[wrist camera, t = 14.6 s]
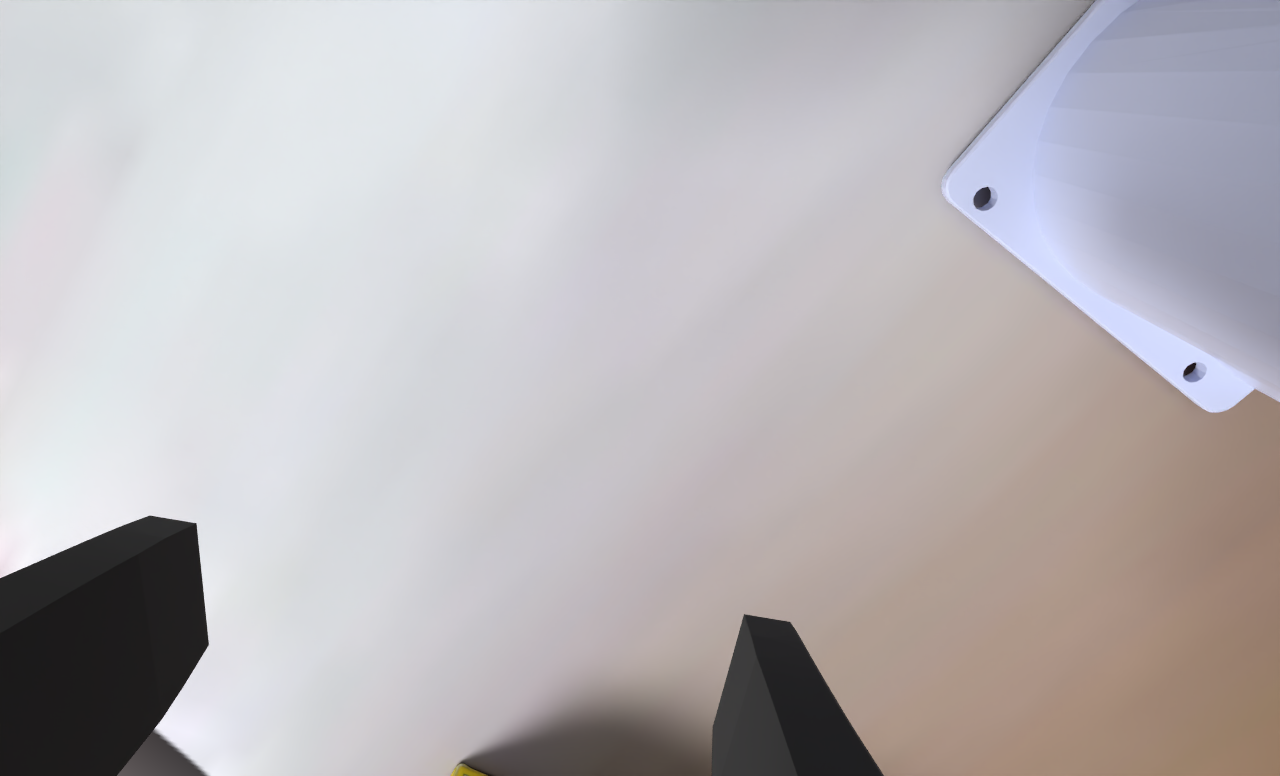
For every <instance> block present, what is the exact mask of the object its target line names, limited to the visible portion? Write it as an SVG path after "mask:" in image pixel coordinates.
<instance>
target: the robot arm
mask: <svg viewBox="0 0 1280 776" xmlns="http://www.w3.org/2000/svg"><path fill="white" fill-rule="evenodd" d="M984 187H988V188H989V189H990V191H991V198H990V200H989V202H988V203H987V204H986V205H984V206H983V207H980V208H976V207H975V206H974V204H973V197H974V196H975V194H976V192H977V191H978V190H980V189H981V188H984ZM941 189H942V193H943V196H944V197H945V198H946V200H947V201H948V202H949V203H950V204H951V205H953V206H954V207H955V208H956V209H958V210H959V211H960V212H961V213H963V214H964V215H965V216H966V217H967V218H969V219H970V220H971V221H972V222H974V223H975V224H976V225H977V226H978V227H980V228H981V229H982V230H983V231H985V232H986V233H987V234H988V235H989V236H991V237H992V238H993V239H994V240H996V241H997V242H998V243H999V244H1000V245H1002V246H1003V247H1004V248H1005V249H1007V250H1008V251H1009V252H1010V253H1011V254H1013V255H1014V256H1015V257H1016V258H1018V259H1019V260H1020V261H1021V262H1023V263H1024V264H1025V265H1026V266H1027V267H1029V268H1030V269H1031V270H1032V271H1034V272H1035V273H1036V274H1037V275H1038V276H1040V277H1041V278H1042V279H1043V280H1045V281H1046V282H1047V283H1048V284H1049V285H1051V286H1052V287H1053V288H1054V289H1056V290H1057V291H1058V292H1059V293H1060V294H1062V295H1063V296H1064V297H1065V298H1067V299H1068V300H1069V301H1070V302H1071V303H1073V304H1074V305H1075V306H1076V307H1078V308H1079V309H1080V310H1081V311H1083V312H1084V313H1085V314H1086V315H1087V316H1089V317H1090V318H1091V319H1092V320H1094V321H1095V322H1096V323H1097V324H1098V325H1100V326H1101V327H1102V328H1103V329H1105V330H1106V331H1107V332H1108V333H1109V334H1111V335H1112V336H1113V337H1114V338H1116V339H1117V340H1118V341H1119V342H1120V343H1122V344H1123V345H1124V346H1125V347H1127V348H1128V349H1129V350H1130V351H1131V352H1133V353H1134V354H1135V355H1136V356H1138V357H1139V358H1140V359H1141V360H1142V361H1144V362H1145V363H1146V364H1147V365H1149V366H1150V367H1151V368H1152V369H1154V370H1155V371H1156V372H1157V373H1158V374H1160V375H1161V376H1162V377H1163V378H1165V379H1166V380H1167V381H1168V382H1169V383H1171V384H1172V385H1173V386H1174V387H1176V388H1177V389H1178V390H1179V391H1180V392H1182V393H1183V394H1184V395H1185V396H1187V397H1188V398H1189V399H1190V400H1191V401H1193V402H1194V403H1195V404H1197V405H1198V406H1200V407H1201V408H1203V409H1204V410H1207V411H1209V412H1217V413H1218V412H1222V411H1226V410H1228V409H1230V408H1231V407H1233V406H1235V405H1236V404H1237V403H1238V402H1239V401H1241V400H1242V399H1243V398H1244V397H1245V396H1247V395H1248V394H1249V393H1250V392H1252V391H1253V390H1254V389H1257V390H1259V391H1260V392H1262V393H1264V394H1266V395H1267V396H1269V397H1271V398H1273V399H1275V400H1276V401H1278V402H1280V0H1096V1H1095V2H1094V3H1093V4H1092V5H1091V7H1090V8H1089V9H1088V10H1087V11H1086V12H1085V13H1084V15H1083V16H1082V17H1081V18H1080V19H1079V20H1078V22H1077V23H1076V24H1075V25H1074V26H1073V27H1072V28H1071V30H1070V31H1069V32H1068V33H1067V34H1066V35H1065V36H1064V38H1063V39H1062V40H1061V41H1060V42H1059V43H1058V44H1057V46H1056V47H1055V48H1054V49H1053V50H1052V51H1051V52H1050V54H1049V55H1048V56H1047V57H1046V58H1045V59H1044V60H1043V62H1042V63H1041V64H1040V65H1039V66H1038V67H1037V68H1036V70H1035V71H1034V72H1033V73H1032V74H1031V75H1030V77H1029V78H1028V79H1027V80H1026V81H1025V82H1024V83H1023V85H1022V86H1021V87H1020V88H1019V89H1018V90H1017V91H1016V93H1015V94H1014V95H1013V96H1012V97H1011V98H1010V99H1009V101H1008V102H1007V103H1006V104H1005V105H1004V106H1003V107H1002V109H1001V110H1000V111H999V112H998V113H997V114H996V115H995V117H994V118H993V119H992V120H991V121H990V122H989V123H988V125H987V126H986V127H985V128H984V129H983V130H982V132H981V133H980V134H979V135H978V136H977V137H976V138H975V140H974V141H973V142H972V143H971V144H970V145H969V146H968V148H967V149H966V150H965V151H964V152H963V153H962V154H961V156H960V157H959V158H958V159H957V160H956V161H955V162H954V164H953V165H952V166H951V167H950V168H949V169H948V171H947V172H946V174H945V176H944V177H943V180H942V185H941ZM1192 363H1196V368H1195V369H1194V370H1193V372H1192V373H1190V374H1188V375H1186V376H1183V371H1184V370H1185V369H1186V367H1187V366H1188V365H1190V364H1192ZM208 645H209V642H208V632H207V623H206V613H205V603H204V593H203V584H202V574H201V564H200V554H199V545H198V535H197V525H196V523H191V522H185V521H179V520H173V519H167V518H161V517H155V516H148V517H145V518H142V519H139V520H137V521H134V522H131V523H129V524H126V525H124V526H121V527H118V528H116V529H114V530H111V531H109V532H106V533H104V534H102V535H99V536H97V537H94V538H92V539H90V540H87V541H85V542H83V543H80V544H78V545H76V546H73V547H71V548H69V549H67V550H64V551H62V552H60V553H57V554H55V555H53V556H50V557H48V558H46V559H44V560H41V561H39V562H37V563H34V564H32V565H30V566H28V567H25V568H23V569H21V570H18V571H16V572H14V573H11V574H9V575H7V576H4V577H2V578H0V776H117V775H118V773H119V772H120V771H121V770H122V769H123V767H124V766H125V765H126V764H127V762H128V761H129V760H130V759H131V757H132V756H133V755H134V754H135V752H136V751H137V750H138V749H139V747H140V746H141V745H142V744H143V742H144V741H145V740H146V739H147V737H148V736H149V735H150V734H151V732H152V731H153V730H154V728H155V727H156V726H157V725H158V723H159V722H160V721H161V720H162V718H163V717H164V715H165V714H166V712H167V711H168V709H169V707H170V706H171V704H172V703H173V701H174V700H175V698H176V697H177V695H178V694H179V692H180V691H181V689H182V688H183V686H184V685H185V683H186V681H187V680H188V678H189V676H190V675H191V673H192V672H193V670H194V668H195V667H196V665H197V663H198V662H199V660H200V658H201V657H202V655H203V654H204V652H205V650H206V649H207V647H208ZM712 776H884V775H883V774H882V772H881V770H880V769H879V767H878V766H877V764H876V763H875V761H874V760H873V758H872V756H871V755H870V753H869V752H868V750H867V749H866V747H865V746H864V744H863V742H862V741H861V739H860V738H859V736H858V735H857V733H856V732H855V730H854V728H853V727H852V725H851V723H850V722H849V720H848V719H847V717H846V715H845V714H844V712H843V710H842V709H841V707H840V705H839V704H838V702H837V700H836V699H835V697H834V695H833V694H832V692H831V690H830V689H829V687H828V685H827V684H826V682H825V680H824V678H823V677H822V675H821V673H820V672H819V670H818V668H817V666H816V665H815V663H814V661H813V659H812V658H811V656H810V654H809V652H808V651H807V649H806V647H805V645H804V644H803V642H802V640H801V638H800V637H799V635H798V633H797V631H796V630H795V628H794V627H793V626H792V624H791V623H790V622H787V621H781V620H775V619H769V618H763V617H757V616H751V615H745V614H744V617H743V620H742V624H741V628H740V631H739V635H738V638H737V642H736V646H735V649H734V653H733V656H732V660H731V664H730V667H729V671H728V674H727V678H726V682H725V685H724V689H723V692H722V696H721V700H720V703H719V707H718V710H717V714H716V718H715V721H714V725H713V739H712Z"/></svg>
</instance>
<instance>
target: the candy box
mask: <svg viewBox="0 0 1280 776" xmlns="http://www.w3.org/2000/svg"><path fill="white" fill-rule="evenodd" d="M451 776H488V775H485V774H483V773H481V772H479V771H476V770H474V769H472V768H470V767H468V766H467V765H465V764H459V765H458V766H457V767H456V768H455V769H454V771H453V773H452V774H451Z"/></svg>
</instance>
